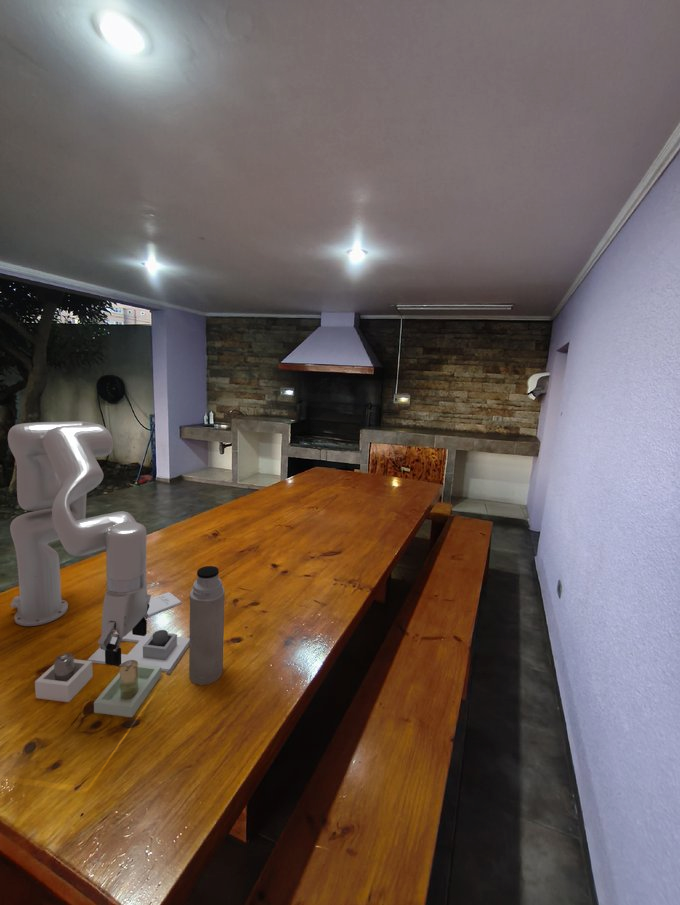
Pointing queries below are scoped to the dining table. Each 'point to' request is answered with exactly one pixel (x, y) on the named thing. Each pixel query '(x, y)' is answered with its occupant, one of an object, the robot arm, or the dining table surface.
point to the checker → (149, 651)
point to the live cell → (129, 679)
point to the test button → (160, 638)
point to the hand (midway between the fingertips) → (127, 648)
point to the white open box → (63, 682)
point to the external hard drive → (162, 603)
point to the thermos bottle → (206, 627)
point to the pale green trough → (116, 705)
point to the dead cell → (64, 667)
